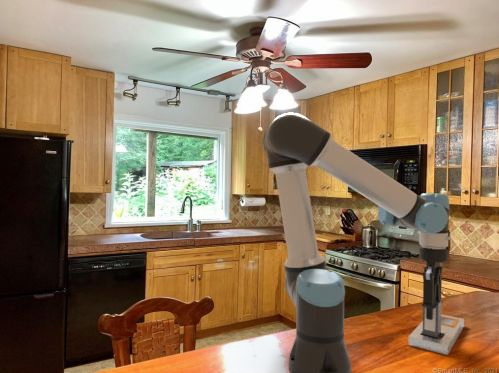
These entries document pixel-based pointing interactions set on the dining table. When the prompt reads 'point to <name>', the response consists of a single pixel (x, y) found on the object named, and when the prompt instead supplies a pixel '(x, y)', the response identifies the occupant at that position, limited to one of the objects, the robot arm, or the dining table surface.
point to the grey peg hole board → (448, 335)
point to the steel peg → (438, 322)
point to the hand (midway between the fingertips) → (431, 327)
